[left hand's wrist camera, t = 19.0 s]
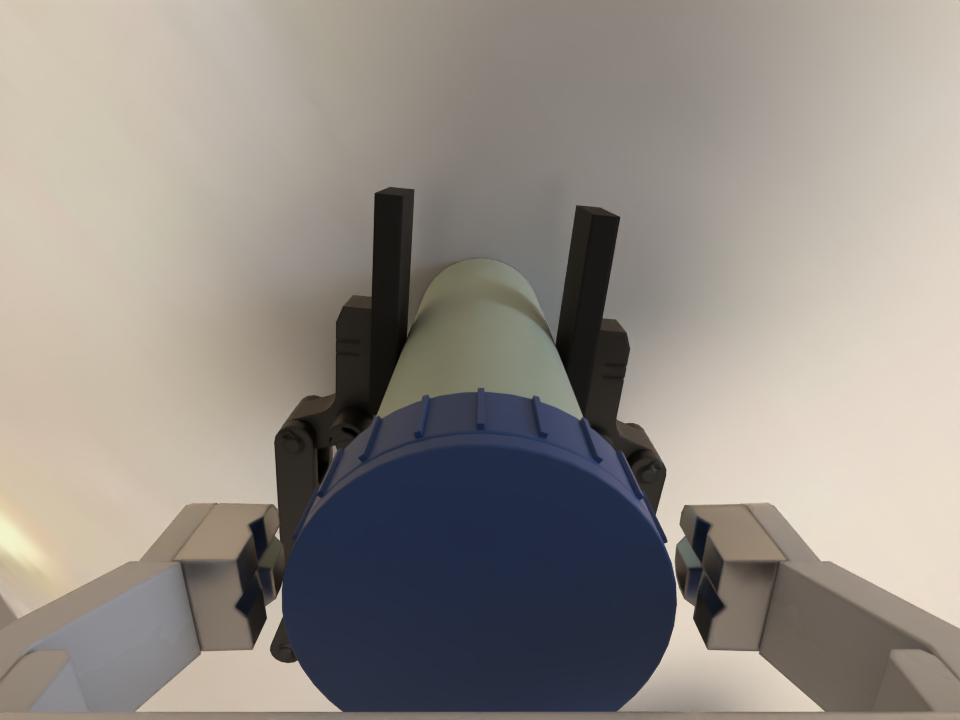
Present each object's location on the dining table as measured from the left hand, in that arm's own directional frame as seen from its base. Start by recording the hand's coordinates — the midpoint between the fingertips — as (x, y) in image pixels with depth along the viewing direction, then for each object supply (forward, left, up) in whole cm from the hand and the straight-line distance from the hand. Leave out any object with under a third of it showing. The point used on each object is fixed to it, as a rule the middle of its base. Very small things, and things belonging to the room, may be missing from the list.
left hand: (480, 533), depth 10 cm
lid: (0, 0, +2) cm, 2 cm away
